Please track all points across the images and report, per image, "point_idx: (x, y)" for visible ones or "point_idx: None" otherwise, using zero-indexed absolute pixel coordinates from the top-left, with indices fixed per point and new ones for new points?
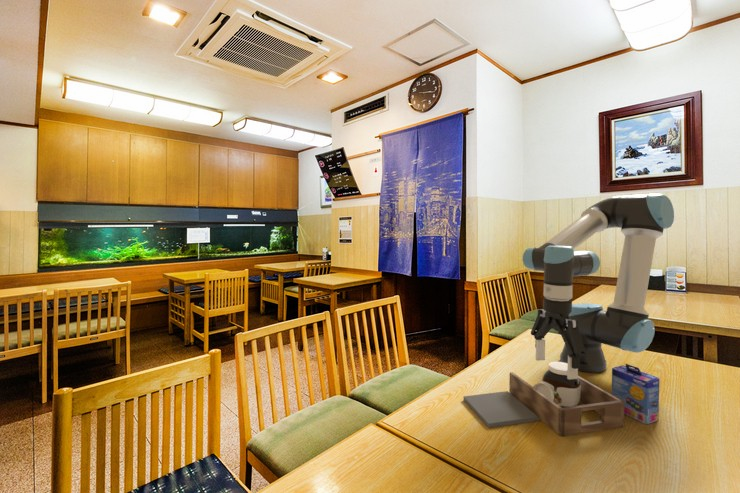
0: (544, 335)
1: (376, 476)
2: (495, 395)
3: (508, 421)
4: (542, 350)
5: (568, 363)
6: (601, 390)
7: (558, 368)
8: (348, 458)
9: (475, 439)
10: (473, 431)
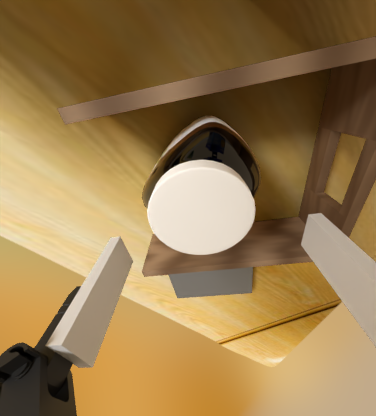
0: (45, 403)
1: (285, 347)
2: None
3: (252, 273)
4: (107, 283)
5: (353, 307)
6: (312, 68)
7: (223, 239)
8: (259, 354)
9: (267, 300)
10: (252, 298)
